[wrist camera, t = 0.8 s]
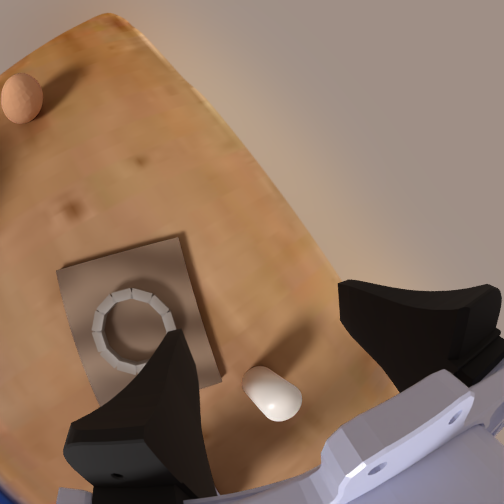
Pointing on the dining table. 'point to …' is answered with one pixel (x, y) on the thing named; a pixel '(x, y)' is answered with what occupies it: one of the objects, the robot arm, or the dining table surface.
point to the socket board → (132, 314)
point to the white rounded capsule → (272, 393)
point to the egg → (21, 98)
